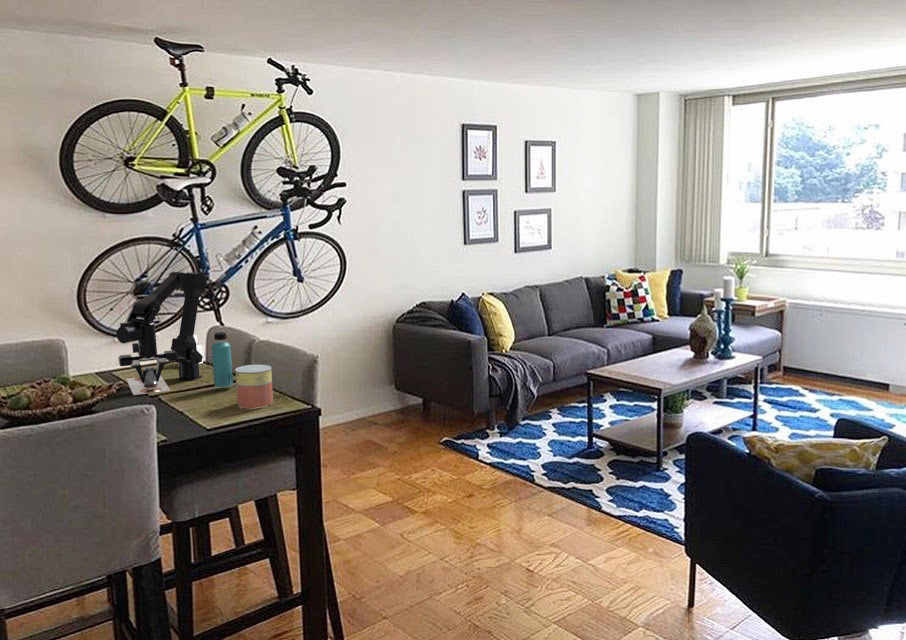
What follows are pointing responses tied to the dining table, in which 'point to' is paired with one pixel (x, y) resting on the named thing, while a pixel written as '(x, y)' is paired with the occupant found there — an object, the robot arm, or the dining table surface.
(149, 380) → the locating pin
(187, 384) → the dining table surface
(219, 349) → the beverage bottle
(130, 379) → the flange strip
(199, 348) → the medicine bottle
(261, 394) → the canned food
